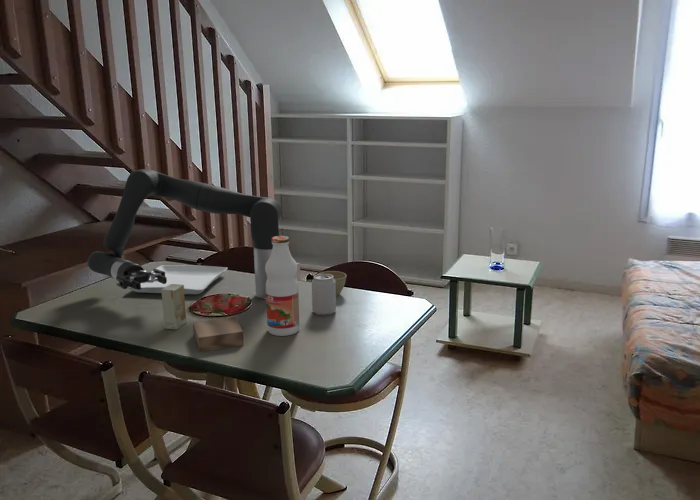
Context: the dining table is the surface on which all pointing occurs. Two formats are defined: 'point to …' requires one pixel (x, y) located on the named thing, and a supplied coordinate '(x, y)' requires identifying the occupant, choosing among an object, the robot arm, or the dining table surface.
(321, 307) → the can
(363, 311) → the dining table surface
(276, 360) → the dining table surface
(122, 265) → the robot arm
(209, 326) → the walnut stand
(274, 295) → the fruit juice
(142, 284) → the square plate
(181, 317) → the skincare box
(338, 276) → the beige bowl
